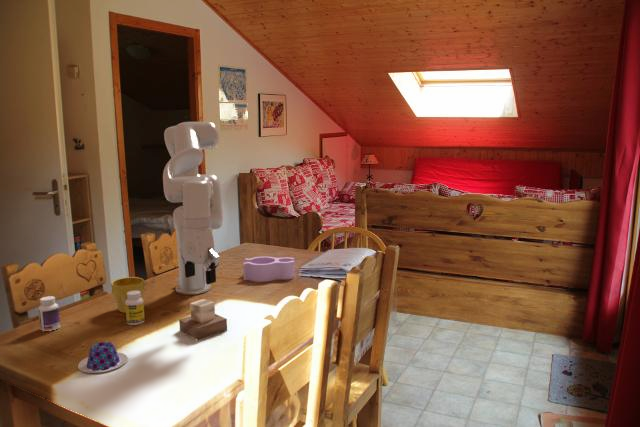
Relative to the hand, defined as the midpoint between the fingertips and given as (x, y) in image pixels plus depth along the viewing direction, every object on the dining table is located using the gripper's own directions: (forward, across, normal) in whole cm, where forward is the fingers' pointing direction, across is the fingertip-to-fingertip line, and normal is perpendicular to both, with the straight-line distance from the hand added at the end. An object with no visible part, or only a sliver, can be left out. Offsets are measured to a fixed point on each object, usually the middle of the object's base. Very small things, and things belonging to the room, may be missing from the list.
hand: (200, 279), depth 156 cm
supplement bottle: (+16, -22, -9) cm, 29 cm away
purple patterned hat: (+16, -3, -30) cm, 34 cm away
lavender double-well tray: (+17, -23, +51) cm, 58 cm away
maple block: (+12, 0, 0) cm, 12 cm away
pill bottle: (+16, -38, -28) cm, 50 cm away
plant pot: (+16, -34, -4) cm, 38 cm away
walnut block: (+16, +1, 0) cm, 16 cm away
